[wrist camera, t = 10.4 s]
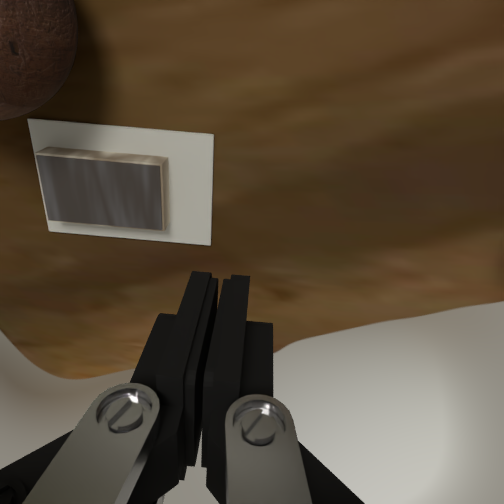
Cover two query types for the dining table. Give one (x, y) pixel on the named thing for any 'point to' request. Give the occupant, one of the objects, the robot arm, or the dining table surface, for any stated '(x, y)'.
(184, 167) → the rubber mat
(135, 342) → the dining table surface
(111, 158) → the ash tile
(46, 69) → the wooden sphere
